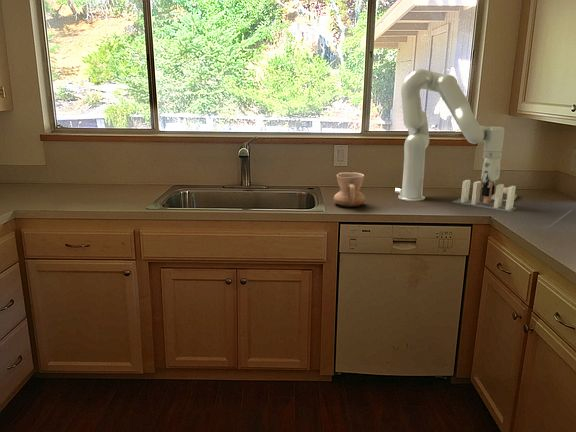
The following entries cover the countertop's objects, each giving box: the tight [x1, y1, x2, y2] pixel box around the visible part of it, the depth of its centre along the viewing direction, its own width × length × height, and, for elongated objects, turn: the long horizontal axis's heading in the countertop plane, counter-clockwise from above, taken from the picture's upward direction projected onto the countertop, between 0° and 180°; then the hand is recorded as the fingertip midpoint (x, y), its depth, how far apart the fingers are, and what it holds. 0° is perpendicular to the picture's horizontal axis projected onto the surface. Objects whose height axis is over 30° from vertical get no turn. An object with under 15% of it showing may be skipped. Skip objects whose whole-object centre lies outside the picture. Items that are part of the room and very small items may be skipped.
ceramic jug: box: [333, 172, 366, 208], centre depth 209 cm, size 18×14×14 cm
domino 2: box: [471, 180, 482, 204], centre depth 212 cm, size 2×5×10 cm, turn 137°
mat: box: [452, 197, 518, 213], centre depth 211 cm, size 26×10×1 cm, turn 47°
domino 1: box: [460, 179, 471, 203], centre depth 216 cm, size 2×5×10 cm, turn 137°
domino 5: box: [505, 185, 517, 210], centre depth 203 cm, size 2×5×10 cm, turn 138°
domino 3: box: [482, 179, 493, 203], centre depth 209 cm, size 2×5×10 cm, turn 137°
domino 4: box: [493, 183, 505, 208], centre depth 206 cm, size 2×5×10 cm, turn 137°
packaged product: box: [491, 186, 518, 202], centre depth 227 cm, size 18×5×10 cm
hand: (487, 194), depth 209 cm, fingers closed on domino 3, 4 cm apart
